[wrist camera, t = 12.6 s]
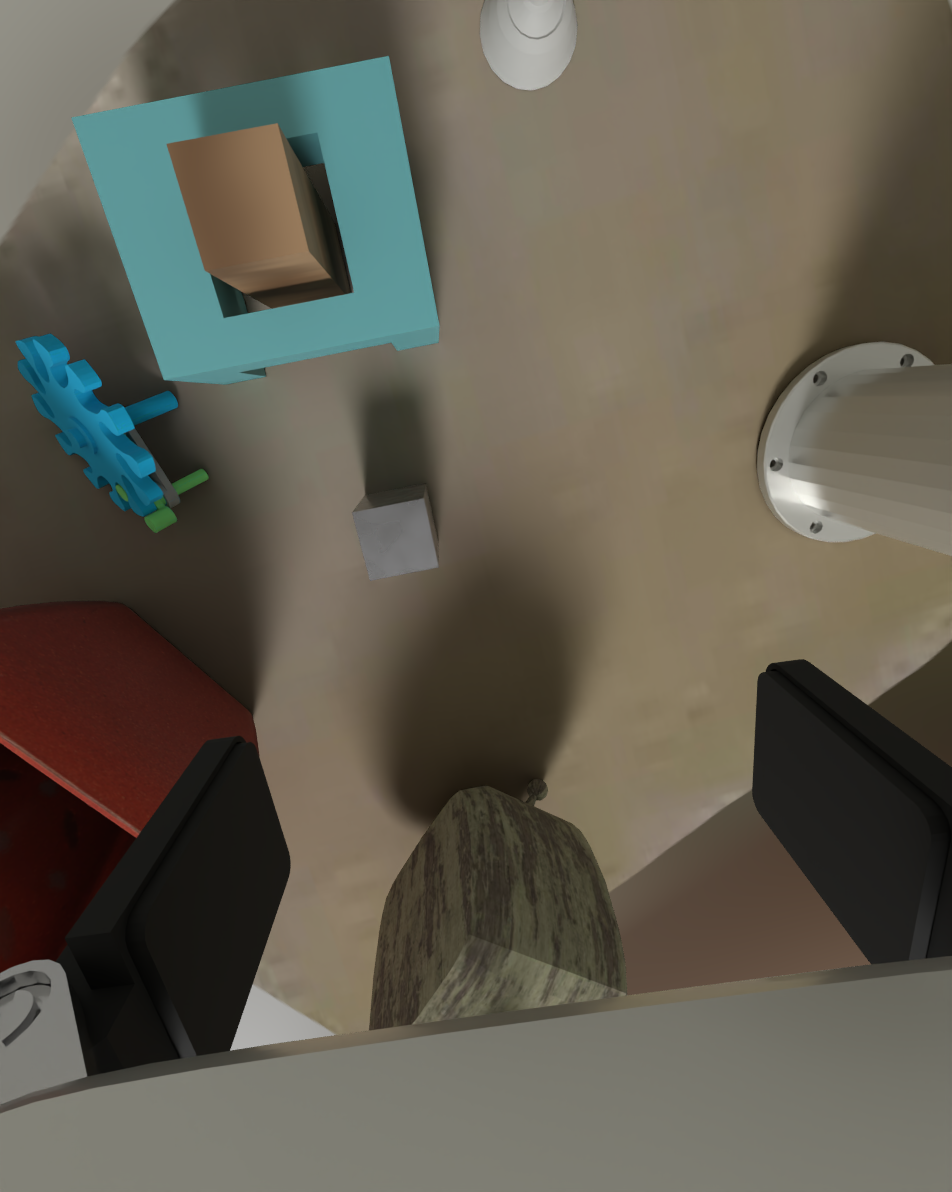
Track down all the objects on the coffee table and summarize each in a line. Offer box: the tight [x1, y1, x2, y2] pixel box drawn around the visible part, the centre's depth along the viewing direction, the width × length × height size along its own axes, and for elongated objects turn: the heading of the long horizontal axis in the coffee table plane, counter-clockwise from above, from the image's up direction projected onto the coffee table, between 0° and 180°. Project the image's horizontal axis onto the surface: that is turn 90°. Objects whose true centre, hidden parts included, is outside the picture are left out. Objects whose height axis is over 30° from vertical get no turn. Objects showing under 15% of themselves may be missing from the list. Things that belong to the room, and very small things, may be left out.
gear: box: [15, 333, 209, 533], centre depth 32 cm, size 11×6×10 cm
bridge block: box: [72, 56, 439, 385], centre depth 28 cm, size 13×10×8 cm
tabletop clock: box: [369, 779, 627, 1031], centre depth 33 cm, size 14×9×25 cm, turn 149°
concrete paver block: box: [352, 483, 439, 581], centre depth 34 cm, size 4×4×6 cm
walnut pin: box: [167, 123, 351, 309], centre depth 26 cm, size 4×4×12 cm
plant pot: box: [0, 601, 259, 973], centre depth 32 cm, size 19×19×17 cm
